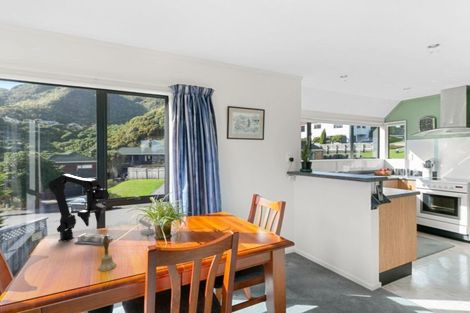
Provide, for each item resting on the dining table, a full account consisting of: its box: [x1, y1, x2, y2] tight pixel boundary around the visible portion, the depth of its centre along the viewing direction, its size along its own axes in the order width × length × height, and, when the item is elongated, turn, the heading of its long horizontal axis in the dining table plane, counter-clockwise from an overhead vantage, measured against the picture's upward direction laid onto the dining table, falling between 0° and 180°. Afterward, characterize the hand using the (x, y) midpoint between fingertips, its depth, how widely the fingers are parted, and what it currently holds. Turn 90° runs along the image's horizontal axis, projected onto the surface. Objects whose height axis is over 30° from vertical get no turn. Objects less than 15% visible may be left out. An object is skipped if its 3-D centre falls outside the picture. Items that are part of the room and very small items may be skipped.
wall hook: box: [138, 218, 155, 236], centre depth 186 cm, size 9×10×10 cm
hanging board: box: [74, 232, 114, 246], centre depth 170 cm, size 19×10×4 cm, turn 79°
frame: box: [83, 233, 106, 242], centre depth 170 cm, size 12×4×3 cm, turn 79°
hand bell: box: [97, 234, 117, 272], centre depth 134 cm, size 8×8×16 cm
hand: (92, 223), depth 171 cm, fingers open, 9 cm apart
